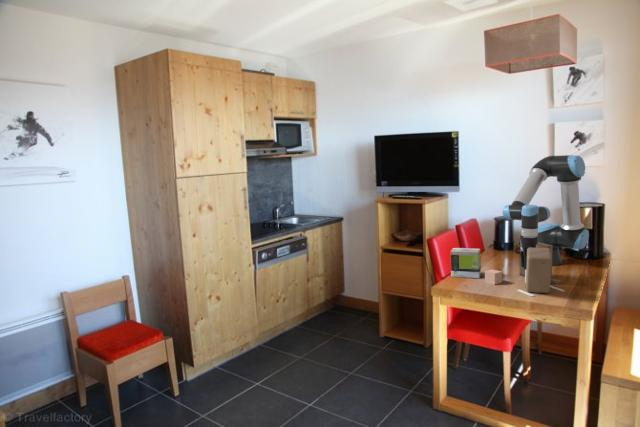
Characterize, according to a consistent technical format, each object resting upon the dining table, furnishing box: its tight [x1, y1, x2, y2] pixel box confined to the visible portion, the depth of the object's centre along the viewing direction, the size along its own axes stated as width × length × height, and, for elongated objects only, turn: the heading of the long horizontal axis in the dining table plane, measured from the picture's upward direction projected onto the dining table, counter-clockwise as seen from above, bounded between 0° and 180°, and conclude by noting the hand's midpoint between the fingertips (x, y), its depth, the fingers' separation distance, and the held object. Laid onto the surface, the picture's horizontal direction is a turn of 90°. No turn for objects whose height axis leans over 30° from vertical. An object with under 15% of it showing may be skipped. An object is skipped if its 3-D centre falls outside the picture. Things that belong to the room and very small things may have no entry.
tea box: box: [450, 247, 482, 279], centre depth 249 cm, size 15×10×15 cm
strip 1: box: [516, 288, 535, 297], centre depth 216 cm, size 2×10×1 cm, turn 17°
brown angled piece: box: [518, 238, 561, 285], centre depth 236 cm, size 8×20×20 cm, turn 17°
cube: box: [484, 269, 503, 285], centre depth 235 cm, size 6×6×6 cm
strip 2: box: [550, 284, 565, 292], centre depth 221 cm, size 2×10×1 cm, turn 17°
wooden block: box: [525, 247, 553, 294], centre depth 214 cm, size 10×10×20 cm
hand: (528, 282), depth 226 cm, fingers closed
